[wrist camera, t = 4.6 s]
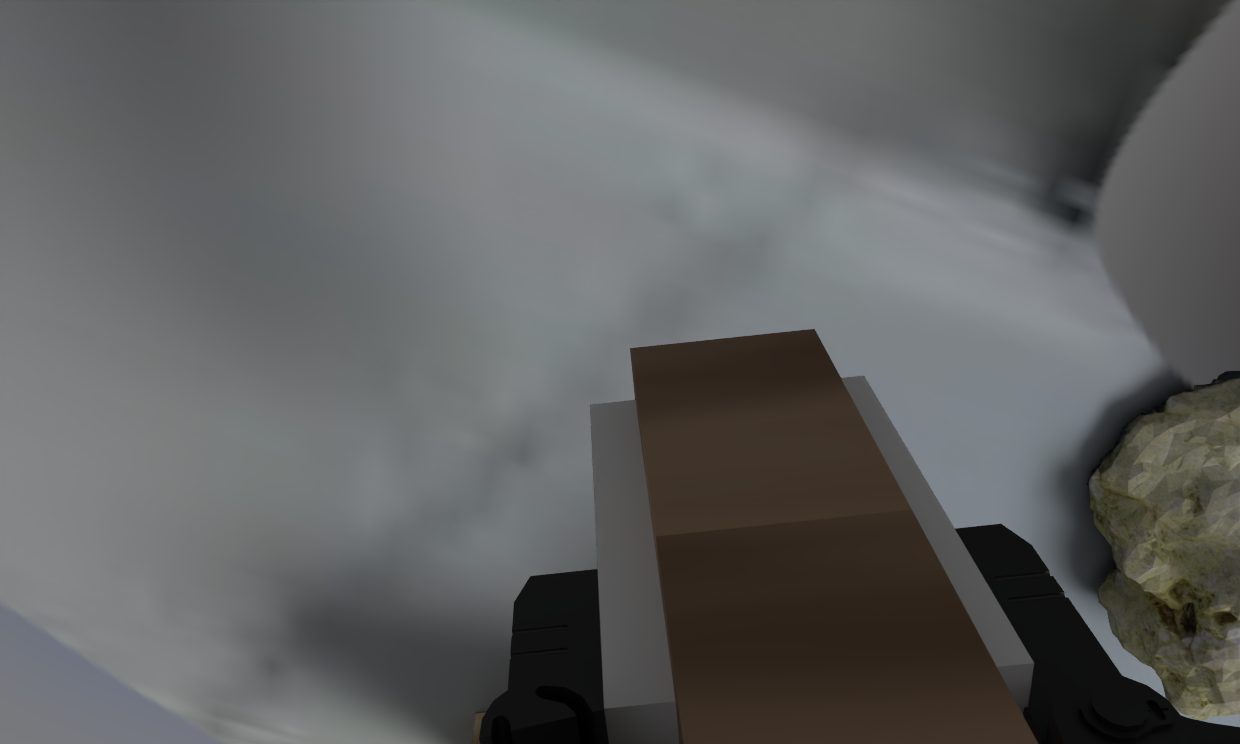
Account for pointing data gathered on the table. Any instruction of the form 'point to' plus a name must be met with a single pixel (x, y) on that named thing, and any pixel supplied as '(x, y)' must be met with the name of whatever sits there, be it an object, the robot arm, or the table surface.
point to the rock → (1178, 544)
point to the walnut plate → (799, 561)
